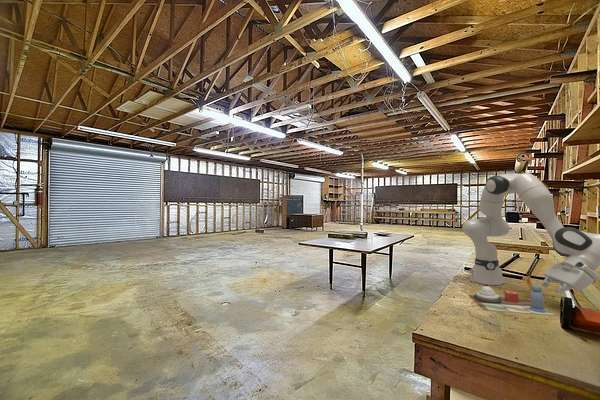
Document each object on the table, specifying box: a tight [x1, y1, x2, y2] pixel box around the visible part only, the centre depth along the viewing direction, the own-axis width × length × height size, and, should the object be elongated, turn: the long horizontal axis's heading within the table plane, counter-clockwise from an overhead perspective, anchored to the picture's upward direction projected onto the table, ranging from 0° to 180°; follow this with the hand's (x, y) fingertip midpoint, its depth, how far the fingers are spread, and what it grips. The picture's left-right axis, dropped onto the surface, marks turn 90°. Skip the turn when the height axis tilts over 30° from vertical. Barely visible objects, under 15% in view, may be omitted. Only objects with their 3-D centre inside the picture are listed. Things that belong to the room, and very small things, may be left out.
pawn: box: [530, 284, 547, 312], centre depth 115 cm, size 5×5×11 cm
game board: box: [467, 293, 557, 320], centre depth 123 cm, size 22×26×2 cm
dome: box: [475, 285, 500, 300], centre depth 130 cm, size 9×9×5 cm
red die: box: [504, 290, 520, 303], centre depth 127 cm, size 4×4×4 cm
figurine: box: [523, 275, 534, 299], centre depth 132 cm, size 8×6×12 cm
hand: (550, 288), depth 114 cm, fingers open, 8 cm apart
